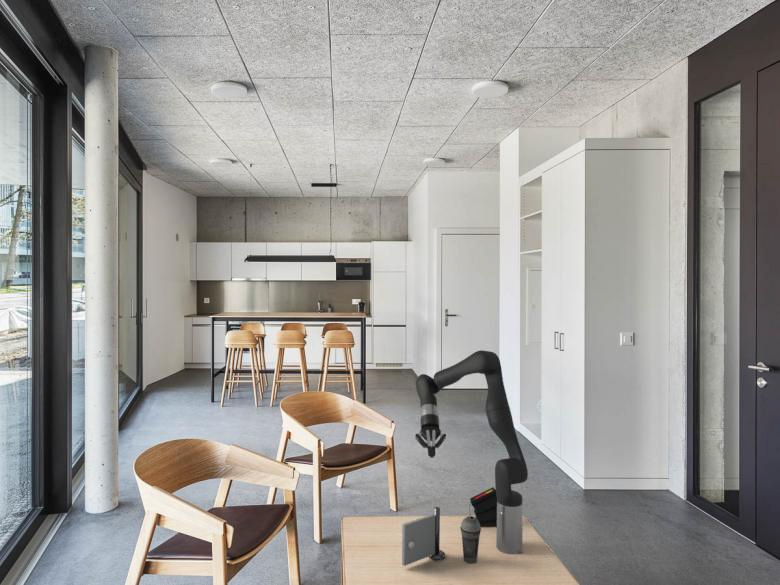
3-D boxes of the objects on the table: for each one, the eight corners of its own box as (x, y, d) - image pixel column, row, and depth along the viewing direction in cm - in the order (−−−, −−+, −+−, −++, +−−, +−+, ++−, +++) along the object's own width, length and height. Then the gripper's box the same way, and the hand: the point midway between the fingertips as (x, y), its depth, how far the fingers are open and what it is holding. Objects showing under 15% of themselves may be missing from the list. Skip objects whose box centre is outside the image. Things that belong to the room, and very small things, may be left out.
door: (432, 552, 201) (433, 514, 201) (437, 555, 199) (437, 516, 199) (402, 564, 192) (402, 524, 192) (406, 567, 190) (406, 526, 190)
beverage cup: (467, 567, 194) (468, 510, 193) (455, 558, 200) (456, 502, 199) (484, 563, 197) (485, 506, 196) (472, 553, 203) (473, 499, 203)
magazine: (511, 522, 226) (496, 489, 225) (482, 537, 225) (466, 504, 224) (509, 518, 229) (493, 486, 229) (480, 533, 229) (464, 500, 228)
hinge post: (445, 553, 204) (446, 505, 203) (444, 561, 198) (444, 512, 197) (429, 551, 205) (429, 504, 204) (427, 559, 199) (427, 510, 198)
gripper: (444, 422, 235) (447, 461, 223) (413, 422, 234) (414, 461, 222) (446, 413, 229) (449, 452, 217) (414, 413, 229) (415, 452, 217)
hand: (431, 456), depth 220 cm, fingers closed
